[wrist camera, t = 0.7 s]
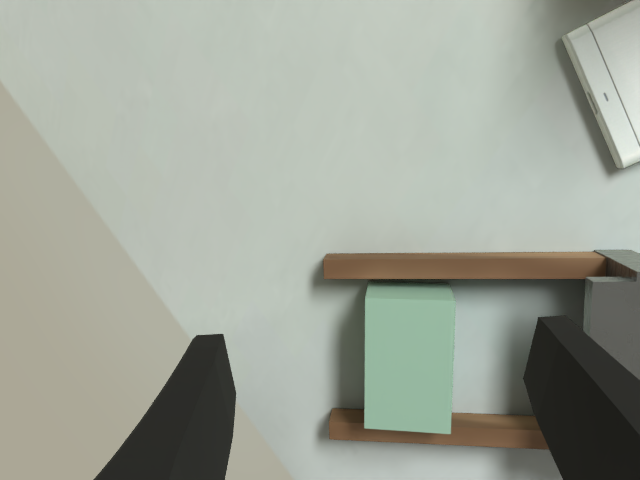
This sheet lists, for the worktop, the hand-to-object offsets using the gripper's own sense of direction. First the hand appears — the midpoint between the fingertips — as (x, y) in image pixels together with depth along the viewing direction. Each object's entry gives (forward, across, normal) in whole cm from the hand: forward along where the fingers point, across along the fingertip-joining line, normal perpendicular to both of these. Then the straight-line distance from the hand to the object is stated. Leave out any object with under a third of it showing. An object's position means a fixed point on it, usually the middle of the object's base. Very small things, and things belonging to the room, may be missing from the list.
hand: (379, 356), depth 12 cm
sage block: (+16, -4, +16) cm, 22 cm away
